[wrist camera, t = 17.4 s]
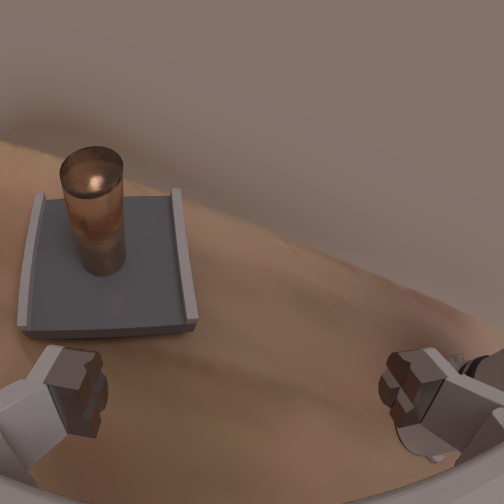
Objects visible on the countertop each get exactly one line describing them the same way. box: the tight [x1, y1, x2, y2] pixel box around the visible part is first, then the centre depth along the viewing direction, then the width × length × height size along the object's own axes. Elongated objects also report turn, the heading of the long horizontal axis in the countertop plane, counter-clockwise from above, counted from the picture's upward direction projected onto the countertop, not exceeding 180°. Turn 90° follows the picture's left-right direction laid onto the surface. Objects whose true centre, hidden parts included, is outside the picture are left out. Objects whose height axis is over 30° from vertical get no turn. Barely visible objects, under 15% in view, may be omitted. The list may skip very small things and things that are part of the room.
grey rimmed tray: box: [17, 189, 199, 339], centre depth 36 cm, size 20×18×7 cm
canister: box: [60, 146, 126, 277], centre depth 29 cm, size 6×6×14 cm
